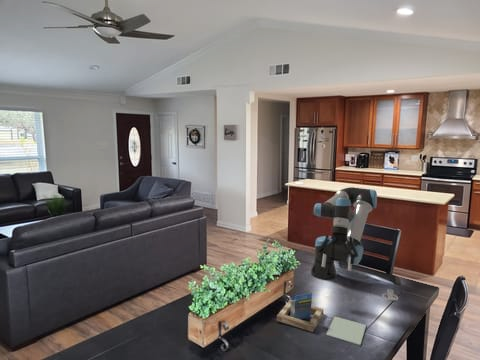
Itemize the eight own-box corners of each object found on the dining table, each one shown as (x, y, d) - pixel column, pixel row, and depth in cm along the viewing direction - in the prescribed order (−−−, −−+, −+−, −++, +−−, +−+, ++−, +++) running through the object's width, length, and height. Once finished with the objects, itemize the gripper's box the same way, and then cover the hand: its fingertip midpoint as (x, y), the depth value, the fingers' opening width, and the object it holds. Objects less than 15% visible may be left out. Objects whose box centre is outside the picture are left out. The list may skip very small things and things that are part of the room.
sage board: (334, 317, 158) (334, 316, 158) (366, 326, 151) (366, 325, 151) (326, 335, 144) (326, 334, 144) (360, 345, 137) (360, 344, 137)
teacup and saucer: (395, 303, 173) (396, 296, 172) (379, 298, 177) (380, 291, 177) (399, 297, 180) (400, 289, 179) (384, 292, 184) (384, 285, 184)
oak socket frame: (289, 304, 169) (289, 299, 168) (323, 313, 161) (323, 308, 161) (276, 320, 154) (276, 315, 154) (313, 331, 146) (313, 326, 146)
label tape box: (306, 313, 161) (307, 289, 159) (310, 317, 157) (312, 293, 155) (290, 316, 158) (291, 292, 156) (294, 321, 154) (295, 296, 152)
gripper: (315, 224, 180) (310, 264, 174) (362, 227, 165) (358, 271, 159) (320, 227, 186) (316, 266, 180) (367, 230, 170) (363, 273, 165)
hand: (336, 268), depth 169 cm, fingers open, 13 cm apart
